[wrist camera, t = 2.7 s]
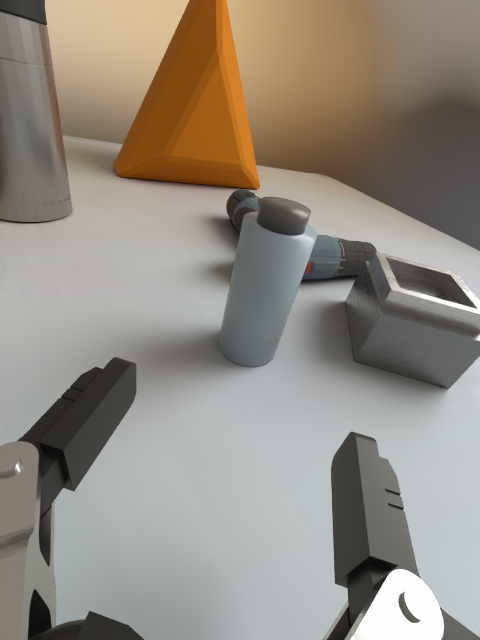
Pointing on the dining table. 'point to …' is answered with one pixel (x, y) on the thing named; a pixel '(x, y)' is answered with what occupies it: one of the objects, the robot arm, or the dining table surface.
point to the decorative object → (194, 110)
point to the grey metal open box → (413, 320)
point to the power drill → (327, 251)
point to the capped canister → (265, 279)
